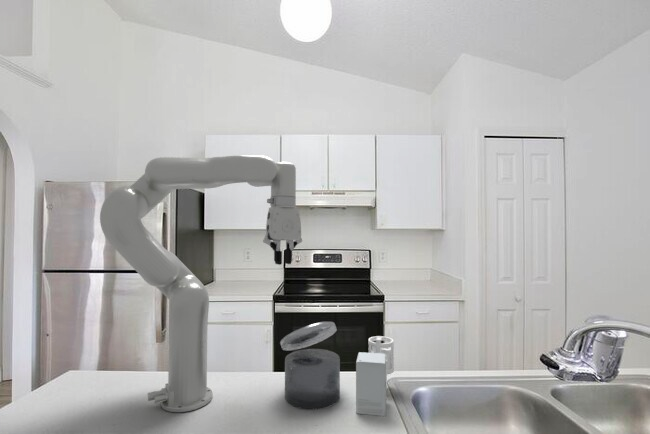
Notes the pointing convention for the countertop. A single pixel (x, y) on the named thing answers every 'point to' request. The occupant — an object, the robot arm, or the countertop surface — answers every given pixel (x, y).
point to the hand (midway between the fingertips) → (283, 263)
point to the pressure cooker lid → (308, 335)
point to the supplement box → (371, 384)
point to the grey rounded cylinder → (312, 378)
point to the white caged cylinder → (383, 351)
